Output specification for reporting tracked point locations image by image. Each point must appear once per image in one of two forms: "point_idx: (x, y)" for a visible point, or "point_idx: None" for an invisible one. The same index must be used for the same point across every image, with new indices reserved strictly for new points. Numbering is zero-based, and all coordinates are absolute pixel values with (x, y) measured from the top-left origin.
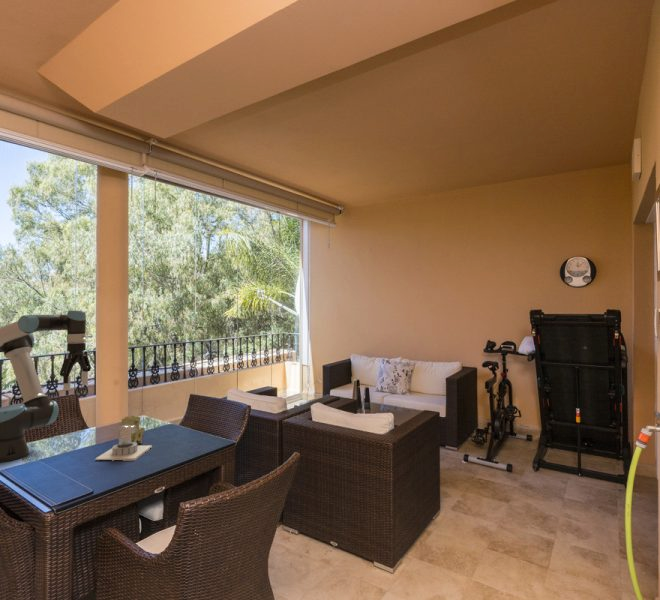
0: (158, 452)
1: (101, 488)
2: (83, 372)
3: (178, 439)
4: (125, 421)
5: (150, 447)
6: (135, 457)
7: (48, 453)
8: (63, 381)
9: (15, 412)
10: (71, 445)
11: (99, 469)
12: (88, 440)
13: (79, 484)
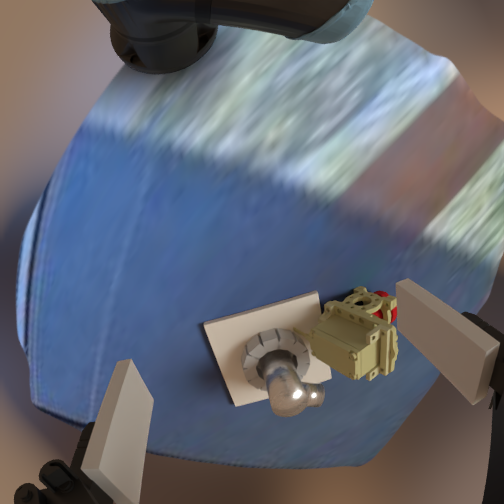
0: None
1: None
2: (476, 367)
3: (390, 382)
4: (347, 363)
5: (321, 380)
6: (241, 404)
7: (220, 115)
8: (82, 438)
9: None
10: (308, 122)
11: (161, 373)
12: (363, 140)
13: (90, 389)
